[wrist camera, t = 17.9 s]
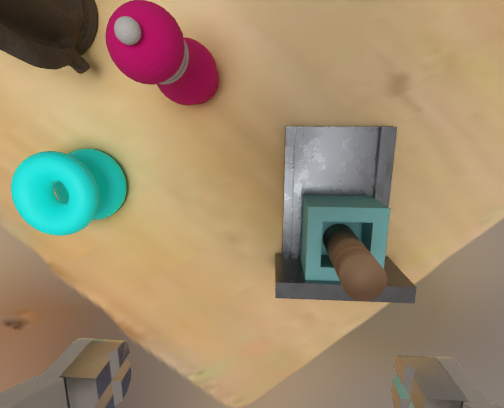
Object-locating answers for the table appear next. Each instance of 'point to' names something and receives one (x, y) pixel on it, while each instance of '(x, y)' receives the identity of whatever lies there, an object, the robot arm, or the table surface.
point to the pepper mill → (160, 53)
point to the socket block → (340, 212)
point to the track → (337, 184)
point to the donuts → (67, 189)
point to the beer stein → (48, 31)
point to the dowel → (354, 264)
